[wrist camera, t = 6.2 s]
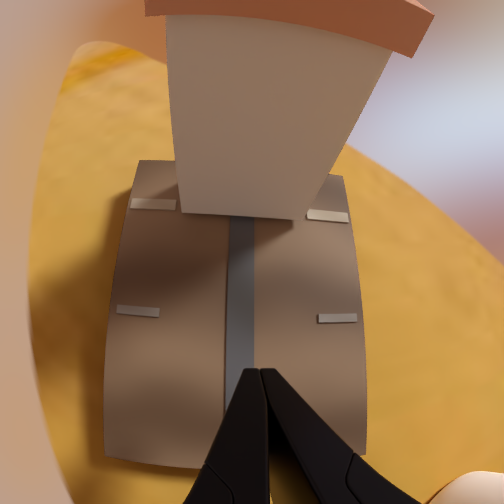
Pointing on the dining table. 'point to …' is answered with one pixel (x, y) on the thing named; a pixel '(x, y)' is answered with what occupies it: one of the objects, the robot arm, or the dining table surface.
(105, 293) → the dining table surface
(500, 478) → the mug
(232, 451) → the robot arm
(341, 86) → the fader tab
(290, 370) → the fader console
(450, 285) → the dining table surface
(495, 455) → the dining table surface
